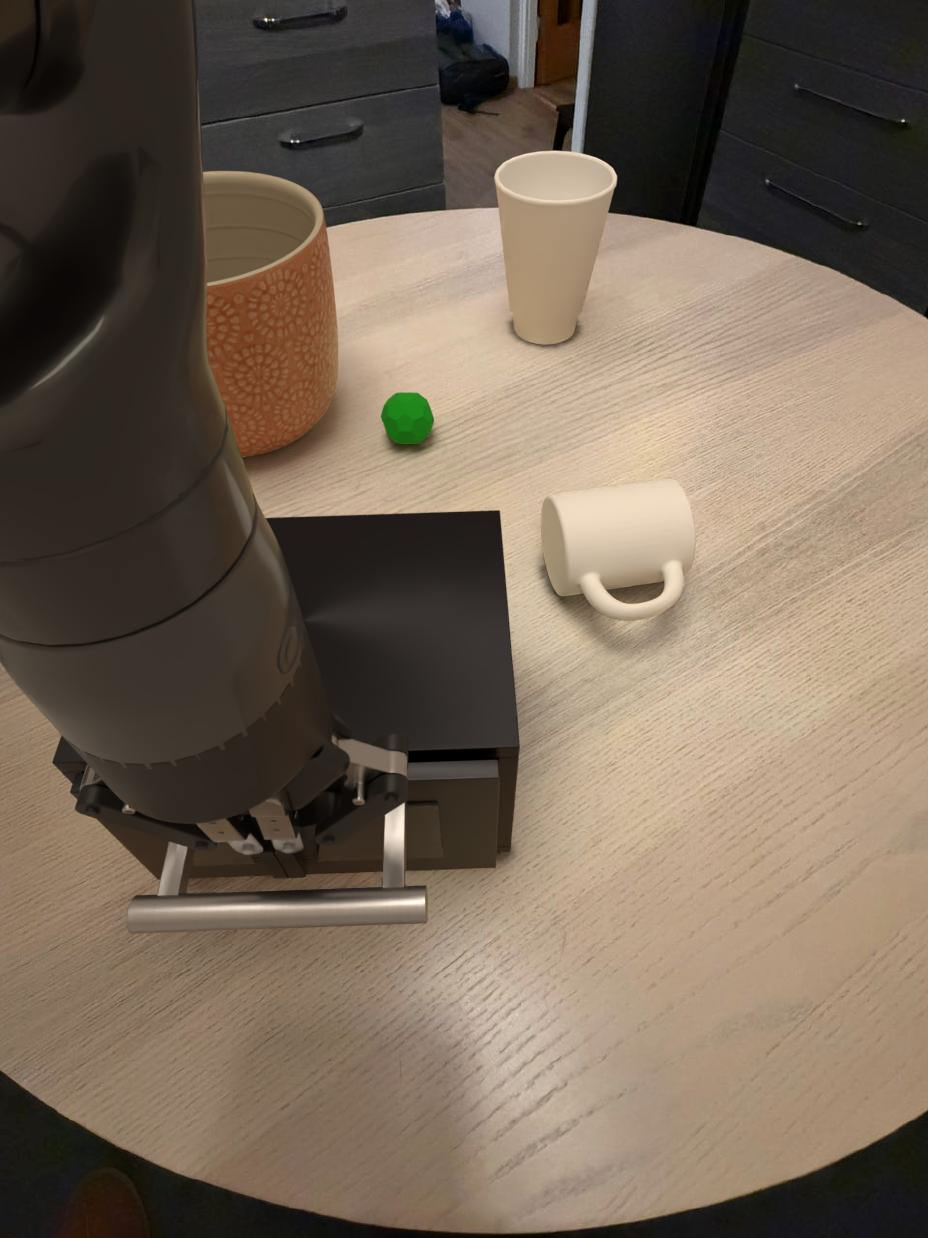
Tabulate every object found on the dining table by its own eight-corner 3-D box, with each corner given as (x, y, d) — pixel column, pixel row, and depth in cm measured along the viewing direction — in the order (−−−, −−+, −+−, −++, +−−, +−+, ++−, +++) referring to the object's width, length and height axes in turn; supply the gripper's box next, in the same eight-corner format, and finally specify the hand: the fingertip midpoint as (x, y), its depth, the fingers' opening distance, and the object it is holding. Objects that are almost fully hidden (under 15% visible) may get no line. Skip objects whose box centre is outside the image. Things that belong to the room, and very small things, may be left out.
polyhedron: (417, 416, 75) (414, 375, 71) (444, 442, 72) (442, 400, 68) (374, 435, 73) (368, 393, 69) (400, 461, 71) (396, 420, 67)
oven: (159, 873, 47) (51, 763, 35) (206, 663, 57) (134, 521, 45) (509, 861, 47) (519, 747, 35) (495, 653, 57) (500, 509, 45)
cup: (492, 299, 88) (495, 149, 76) (593, 300, 88) (612, 149, 75) (491, 356, 81) (493, 201, 68) (600, 357, 81) (623, 201, 68)
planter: (337, 346, 83) (306, 157, 68) (371, 465, 70) (342, 265, 55) (145, 377, 80) (67, 186, 65) (145, 507, 67) (50, 308, 52)
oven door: (133, 987, 40) (27, 922, 31) (161, 863, 45) (75, 772, 35) (501, 974, 40) (508, 905, 31) (494, 852, 45) (498, 758, 35)
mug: (537, 545, 64) (543, 473, 57) (649, 528, 64) (668, 456, 58) (574, 658, 56) (586, 590, 50) (700, 638, 57) (728, 569, 51)
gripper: (402, 540, 24) (432, 780, 38) (-9, 555, 24) (170, 790, 38) (397, 749, 19) (433, 936, 33) (-113, 768, 19) (134, 947, 33)
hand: (292, 858), depth 35 cm, fingers closed
